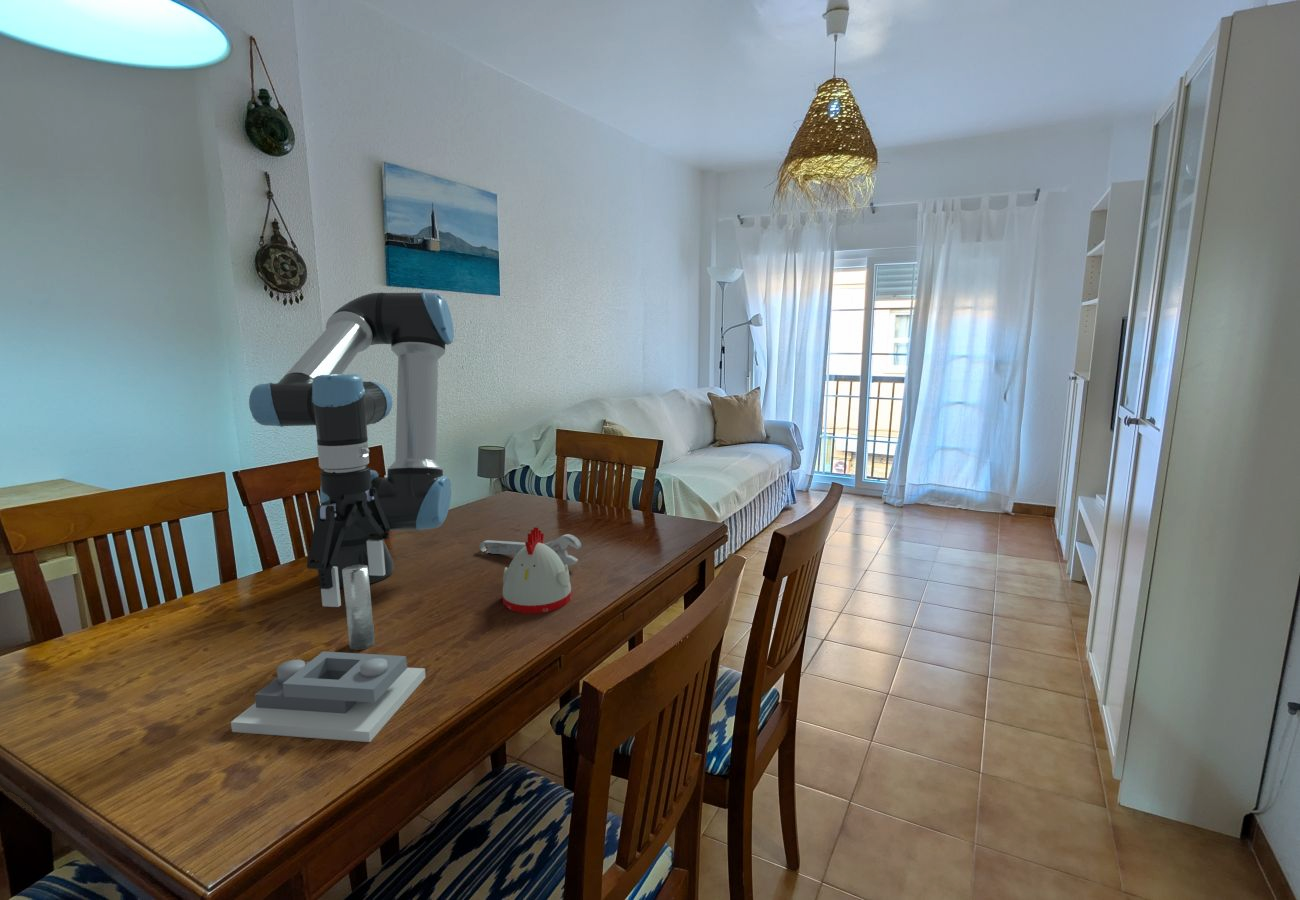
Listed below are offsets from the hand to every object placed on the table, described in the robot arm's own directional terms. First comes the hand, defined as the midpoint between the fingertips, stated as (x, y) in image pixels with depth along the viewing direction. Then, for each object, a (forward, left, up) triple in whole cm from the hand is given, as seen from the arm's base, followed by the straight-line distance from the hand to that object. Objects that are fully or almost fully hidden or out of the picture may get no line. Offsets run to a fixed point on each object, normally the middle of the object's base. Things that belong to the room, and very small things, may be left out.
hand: (356, 589), depth 107 cm
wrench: (+17, +43, -11) cm, 47 cm away
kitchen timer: (+25, +22, -11) cm, 35 cm away
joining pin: (0, 0, -10) cm, 10 cm away
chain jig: (+6, -17, -10) cm, 20 cm away
